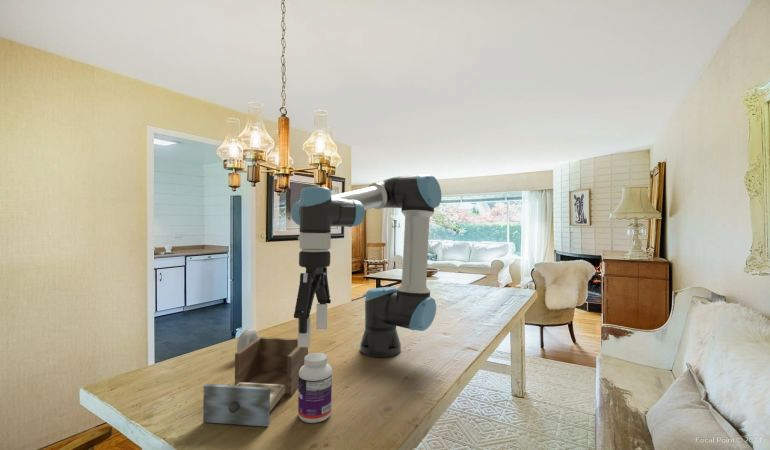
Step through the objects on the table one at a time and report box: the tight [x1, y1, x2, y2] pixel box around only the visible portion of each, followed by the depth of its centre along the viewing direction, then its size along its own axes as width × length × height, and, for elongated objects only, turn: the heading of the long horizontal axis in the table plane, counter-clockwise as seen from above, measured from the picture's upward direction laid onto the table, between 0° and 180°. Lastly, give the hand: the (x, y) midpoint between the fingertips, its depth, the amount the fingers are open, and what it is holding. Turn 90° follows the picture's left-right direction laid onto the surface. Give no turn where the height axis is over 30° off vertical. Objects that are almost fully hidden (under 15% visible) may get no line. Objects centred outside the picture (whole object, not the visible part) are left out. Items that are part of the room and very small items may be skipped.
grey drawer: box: [202, 382, 285, 427], centre depth 86 cm, size 16×15×8 cm
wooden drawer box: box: [234, 336, 309, 398], centre depth 101 cm, size 16×14×11 cm
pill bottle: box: [297, 352, 333, 424], centre depth 84 cm, size 8×8×14 cm
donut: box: [236, 327, 259, 353], centre depth 121 cm, size 10×4×10 cm, turn 168°
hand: (313, 337), depth 85 cm, fingers open, 13 cm apart
